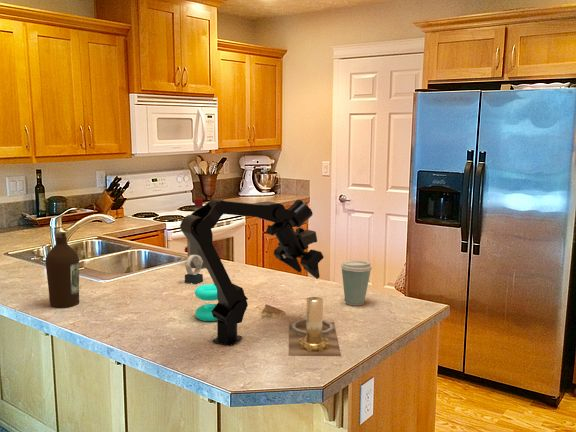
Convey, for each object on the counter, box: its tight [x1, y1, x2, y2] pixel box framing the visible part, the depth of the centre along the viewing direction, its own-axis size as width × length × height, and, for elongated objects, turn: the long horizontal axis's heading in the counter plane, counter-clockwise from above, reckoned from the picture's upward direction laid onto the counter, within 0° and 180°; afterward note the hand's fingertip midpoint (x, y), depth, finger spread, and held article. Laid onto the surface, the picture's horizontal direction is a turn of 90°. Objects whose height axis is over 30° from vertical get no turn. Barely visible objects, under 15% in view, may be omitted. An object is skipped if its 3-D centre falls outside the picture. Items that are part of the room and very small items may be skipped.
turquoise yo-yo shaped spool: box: [194, 283, 218, 322], centre depth 177 cm, size 10×10×10 cm
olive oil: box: [44, 231, 80, 309], centre depth 188 cm, size 11×11×25 cm
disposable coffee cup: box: [340, 260, 373, 307], centre depth 192 cm, size 11×11×15 cm
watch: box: [184, 255, 204, 285], centre depth 217 cm, size 6×8×11 cm
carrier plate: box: [288, 318, 342, 357], centre depth 158 cm, size 26×14×2 cm, turn 0°
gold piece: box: [299, 296, 329, 352], centre depth 151 cm, size 8×8×14 cm
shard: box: [260, 304, 286, 319], centre depth 182 cm, size 11×8×2 cm
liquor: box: [186, 197, 207, 269], centre depth 242 cm, size 9×9×30 cm
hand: (309, 274), depth 173 cm, fingers open, 9 cm apart
